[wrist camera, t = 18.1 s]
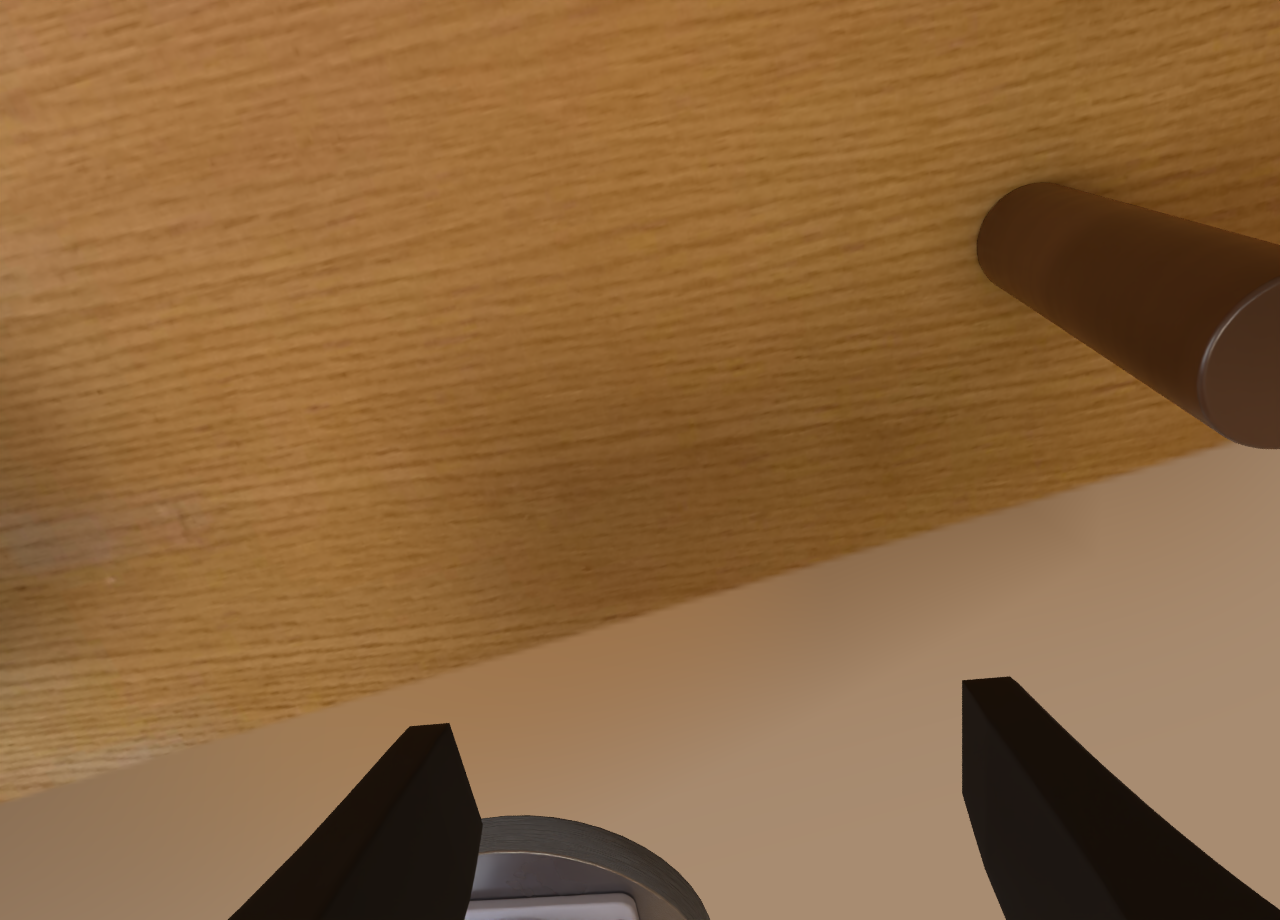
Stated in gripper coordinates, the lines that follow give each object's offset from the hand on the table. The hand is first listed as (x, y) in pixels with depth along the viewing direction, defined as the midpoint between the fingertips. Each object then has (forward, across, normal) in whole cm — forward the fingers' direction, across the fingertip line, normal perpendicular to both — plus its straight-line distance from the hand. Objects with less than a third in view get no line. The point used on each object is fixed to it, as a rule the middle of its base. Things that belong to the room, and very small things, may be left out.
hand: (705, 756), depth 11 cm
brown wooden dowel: (+10, -8, -4) cm, 14 cm away
